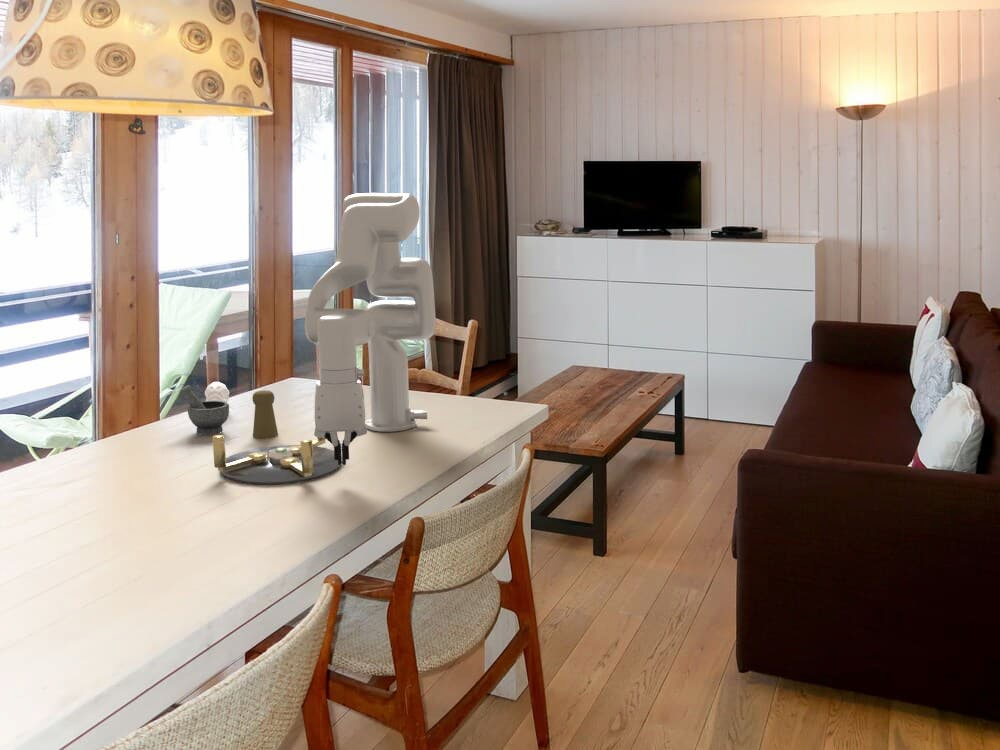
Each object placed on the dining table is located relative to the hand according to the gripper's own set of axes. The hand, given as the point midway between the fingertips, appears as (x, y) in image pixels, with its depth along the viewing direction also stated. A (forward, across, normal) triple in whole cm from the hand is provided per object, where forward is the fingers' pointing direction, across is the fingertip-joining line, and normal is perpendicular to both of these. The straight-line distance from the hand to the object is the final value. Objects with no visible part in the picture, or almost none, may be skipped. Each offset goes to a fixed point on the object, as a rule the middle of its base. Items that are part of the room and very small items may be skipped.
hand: (342, 462), depth 210 cm
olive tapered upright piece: (+4, +19, -41) cm, 46 cm away
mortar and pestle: (+4, +34, -46) cm, 57 cm away
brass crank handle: (+3, +9, -5) cm, 11 cm away
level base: (+4, +13, -14) cm, 19 cm away
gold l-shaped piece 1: (+3, +22, -11) cm, 24 cm away
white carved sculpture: (+4, +33, -63) cm, 71 cm away
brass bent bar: (+3, +8, -21) cm, 23 cm away
